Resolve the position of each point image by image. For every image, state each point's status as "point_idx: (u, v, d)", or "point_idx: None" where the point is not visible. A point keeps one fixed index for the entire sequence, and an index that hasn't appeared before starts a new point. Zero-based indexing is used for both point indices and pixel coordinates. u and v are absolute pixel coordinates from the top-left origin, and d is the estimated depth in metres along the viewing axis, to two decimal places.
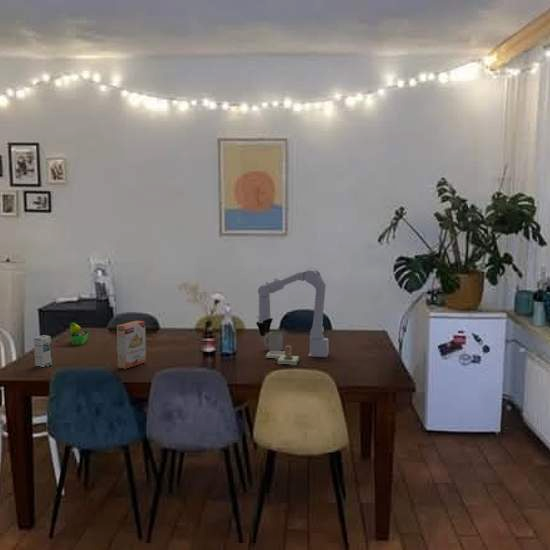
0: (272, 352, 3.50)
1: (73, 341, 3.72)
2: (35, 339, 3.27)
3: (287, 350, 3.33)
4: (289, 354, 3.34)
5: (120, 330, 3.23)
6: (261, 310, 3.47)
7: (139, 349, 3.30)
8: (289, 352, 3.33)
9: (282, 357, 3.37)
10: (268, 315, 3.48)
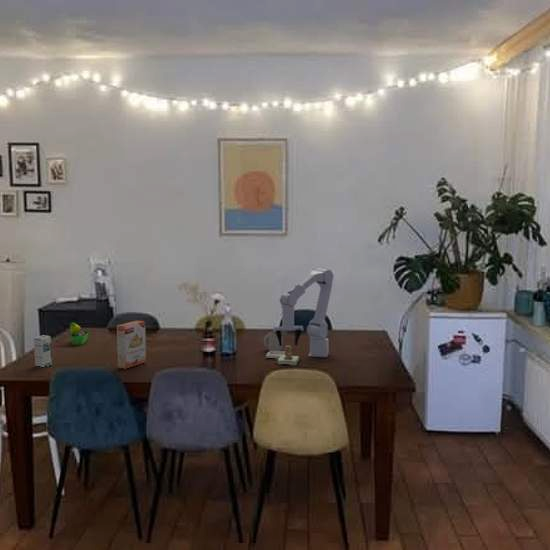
0: (272, 352, 3.50)
1: (73, 341, 3.72)
2: (35, 339, 3.27)
3: (287, 350, 3.33)
4: (289, 354, 3.34)
5: (120, 330, 3.23)
6: (282, 319, 3.33)
7: (139, 349, 3.30)
8: (289, 352, 3.33)
9: (282, 357, 3.37)
10: (286, 326, 3.30)
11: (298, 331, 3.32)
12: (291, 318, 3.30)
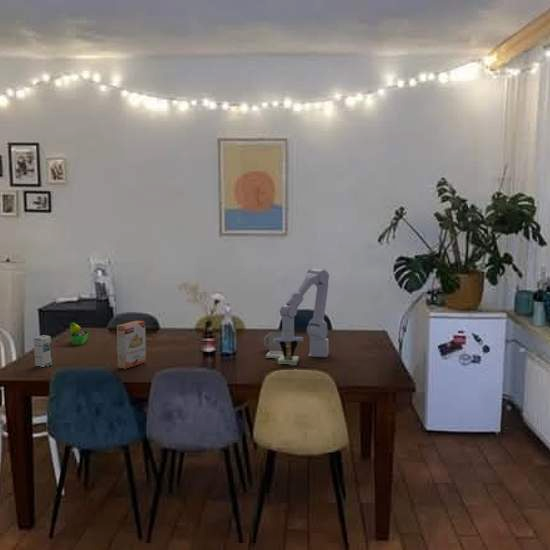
0: (272, 352, 3.50)
1: (73, 341, 3.72)
2: (35, 339, 3.27)
3: (287, 350, 3.33)
4: (289, 354, 3.34)
5: (120, 330, 3.23)
6: None
7: (139, 349, 3.30)
8: (289, 352, 3.33)
9: (282, 357, 3.37)
10: (286, 337, 3.31)
11: None
12: (291, 329, 3.31)
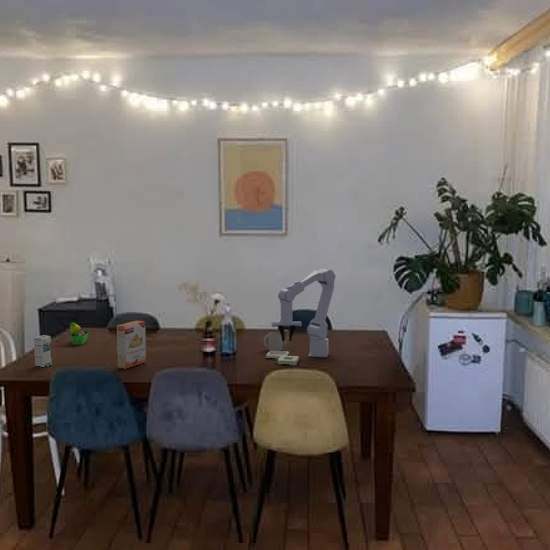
0: (272, 352, 3.50)
1: (73, 341, 3.72)
2: (35, 339, 3.27)
3: (285, 334, 3.34)
4: (287, 338, 3.34)
5: (120, 330, 3.23)
6: None
7: (139, 349, 3.30)
8: (287, 336, 3.34)
9: (282, 357, 3.37)
10: (284, 321, 3.32)
11: None
12: (289, 313, 3.31)
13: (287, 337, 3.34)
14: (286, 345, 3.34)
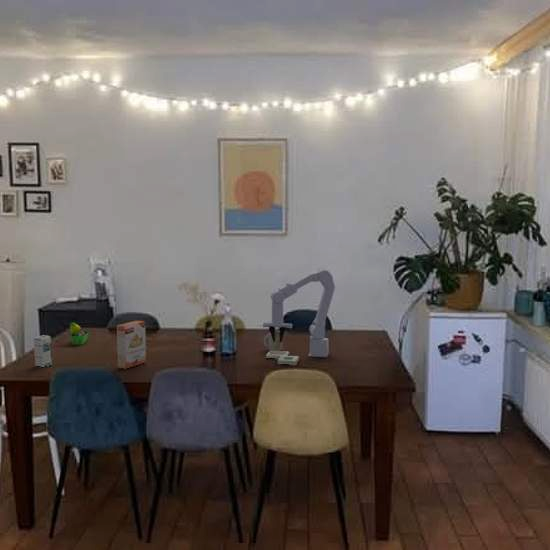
0: (272, 352, 3.50)
1: (73, 341, 3.72)
2: (35, 339, 3.27)
3: (275, 335, 3.43)
4: (277, 339, 3.43)
5: (120, 330, 3.23)
6: None
7: (139, 349, 3.30)
8: (277, 337, 3.42)
9: (282, 357, 3.37)
10: (274, 322, 3.41)
11: None
12: (277, 315, 3.40)
13: (277, 338, 3.43)
14: (276, 346, 3.43)
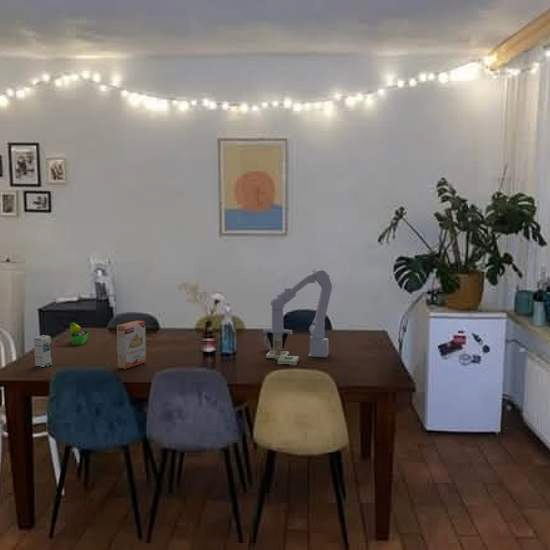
0: (272, 352, 3.50)
1: (73, 341, 3.72)
2: (35, 339, 3.27)
3: (276, 344, 3.43)
4: (278, 348, 3.43)
5: (120, 330, 3.23)
6: None
7: (139, 349, 3.30)
8: (277, 346, 3.43)
9: (282, 357, 3.37)
10: (274, 329, 3.41)
11: (286, 335, 3.41)
12: (277, 321, 3.40)
13: (277, 346, 3.43)
14: (276, 354, 3.44)
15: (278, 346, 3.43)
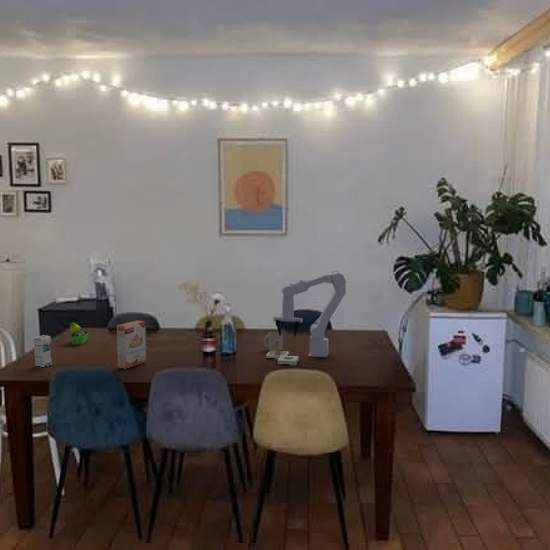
0: (272, 352, 3.50)
1: (73, 341, 3.72)
2: (35, 339, 3.27)
3: (276, 344, 3.43)
4: (277, 348, 3.43)
5: (120, 330, 3.23)
6: None
7: (139, 349, 3.30)
8: (277, 346, 3.43)
9: (282, 357, 3.37)
10: (284, 316, 3.42)
11: (296, 323, 3.42)
12: (287, 309, 3.41)
13: (277, 346, 3.43)
14: (276, 354, 3.44)
15: (278, 346, 3.43)
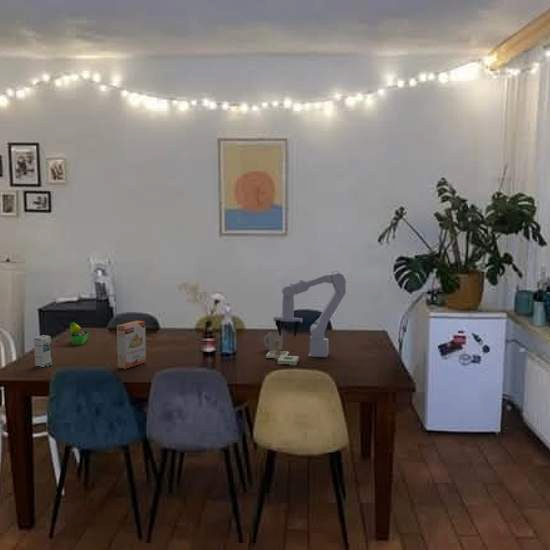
0: (272, 352, 3.50)
1: (73, 341, 3.72)
2: (35, 339, 3.27)
3: (276, 344, 3.43)
4: (277, 348, 3.43)
5: (120, 330, 3.23)
6: None
7: (139, 349, 3.30)
8: (277, 346, 3.43)
9: (282, 357, 3.37)
10: (284, 316, 3.42)
11: (296, 323, 3.42)
12: (287, 309, 3.41)
13: (277, 346, 3.43)
14: (276, 354, 3.44)
15: (278, 346, 3.43)
